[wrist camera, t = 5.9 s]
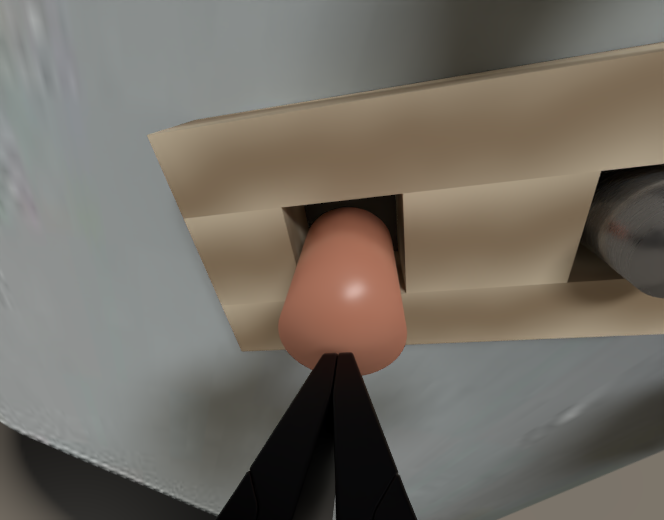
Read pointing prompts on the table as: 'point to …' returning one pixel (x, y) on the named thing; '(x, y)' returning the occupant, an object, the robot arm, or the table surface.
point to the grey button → (630, 225)
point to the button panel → (434, 195)
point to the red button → (345, 293)
